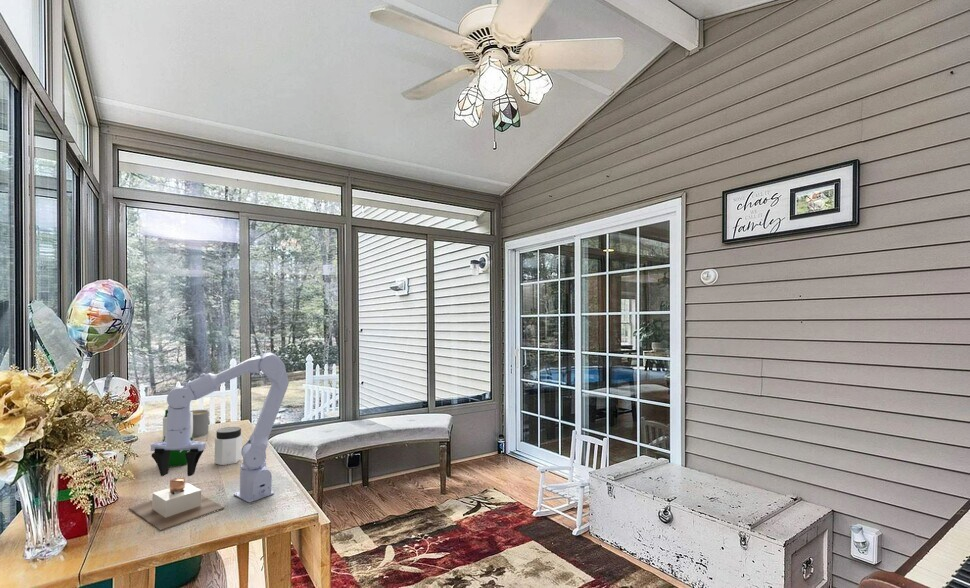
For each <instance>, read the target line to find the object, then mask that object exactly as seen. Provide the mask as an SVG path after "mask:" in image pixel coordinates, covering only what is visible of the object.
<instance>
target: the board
mask: <svg viewBox="0 0 970 588" xmlns="http://www.w3.org/2000/svg"><path fill="white" fill-rule="evenodd" d="M128 509H129V510H130V511H131V512H132V513H134V514H135V515H137V516H138V517H140V518H141V519H143V520H144V521H146V523H148V524H149V525H151V526H152V527H154V528H155V529H156V530H158V531H159V532H163V531H165V530H168V529H171V528H174V527H177V526H179V525H182V524H185V523H189V522H190V520H191V521H193V519H194V520H196V519H199V518H201V516H202V517H204V515H205V516H207V514H208V515H210V514H213V513H215V512H214V511H216V512H218V511H217V510H219V511H221V509H222V510H224V509H225V507H224V506H223V505H222V504H219V503H217V502H216V501H213V500H212V499H209V497H206V496H204V495H202V494H201V506H199V507H196V508H193V509H190V510H187V511H184V512H181V513H178V514H175V515H172V516H169V517H166V518H165V517H164V516H162V515H161V514H159V513H158V512H156V511H155V510H153V509H152V500H149V501H145V502H142V503H139V504H135V505H133V506H129V507H128ZM212 512H213V513H212ZM209 513H210V514H209Z"/></svg>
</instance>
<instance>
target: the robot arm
mask: <svg viewBox="0 0 970 588" xmlns="http://www.w3.org/2000/svg"><path fill="white" fill-rule="evenodd" d="M286 369H287V368H286V365H285V363H284V362H283V361H282V359H281V358H280V357H279V356H277V354H275V353H274V352H269V351H268V352H264V353H262V354H261V355H255V356H252V357H250V358H248V359H245V360H244V361H241V362H239V363H237V364H235V365H233V366H230V367H229V368H227V369H225V370H223V371H221V372H218V373H217V374H214V373H212V372H209V373H205V372H203V373H201V374H199V377H197V378H195V379H192V380H190V381H188V382H187V381H184V382H182V385H177V386H174V387H173V388H172V389H171V390H170V391H169V392H168V394H167V397H166V403H167V404H168V407H167V409H168V413H167V442H163V441H157V442H153V443H151V444H150V452H153V453H151V457H152V459H153V460H154V462H155V463H156V465H157V467H158V470H159V473H160V477H165V476H167V475H168V474H169V457H170V453H171V450H190V451H189V452H187V453H185V456H186V460H187V464H186V467H187V469H186V471H187V473H186V474H187V477H191V476H193V475H195V472H196V469H197V465H198V462H199V460H200V458H201V457H202V455H203V453H204V451H205V449H206V442H205V441H195V440H193V441H190V423H191V411H192V410H191V407H190V406H191V405H190V404H191V402H192V401H197V400H199V399H201V398H204V397H206V396H208V395H210V394H212V393H214V392H216V391H218V390H219V389H220V387H221V384H222V385H223V384H225V383H226V382H228V381H231V380H233V379H237V378H238V377H241V376H242V375H245V374H248V373H249V374H259V373H260V371H261V372H262V373H263V374H264V375H265V376H266V377H267V379H268V380H269V382H270V383H271V385H270V386H269V391H268V393H267V395H266V398H265V401H264V403H263V405H262V408H261V411H260V412H259V413H260V414H259V416H258V418H257V421H256V424H255V425H254V426H255V427H254V429H253V431H252V433H251V434H250V436H249V438H248V440H247V442H245V443H244V445H242V451H241V454H242V463H241V464H240V465H239V466H240V469H239V471H240V472H239V491H237V492H234V493H233V496H235V497H236V498H238V499H240V500H243V501H245V502H248V503H252V502H255V501H257V500H260V499H263V498H267V497H269V496H272V495H274V494H275V492H274V491H273V490H272V479H273V478H272V472H271V471H270V470H269V469H268V467H267V461H266V459H267V453H266V450H267V448H268V443H269V437H270V434H271V432H272V429H273V427H274V424H275V422H276V420H277V419H276V418H277V416H278V414H279V410H280V408H281V406H282V403H283V400H284V398H285V394H286V392H287V389H288V387H289V383H290V381H289V377H288V374H287V370H286Z"/></svg>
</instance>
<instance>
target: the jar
mask: <svg viewBox="0 0 970 588" xmlns="http://www.w3.org/2000/svg"><path fill="white" fill-rule="evenodd" d="M242 448H243V434H242V427H240V426H226V427H222V428H219V429H217V430H216V437H215V438H214V461H213V462H214V464H216V465H220V466H226V465H227V464H228V465H233V464H236V463H238V462H239V461H241V460H243V456H242V454H241V451H242Z"/></svg>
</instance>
